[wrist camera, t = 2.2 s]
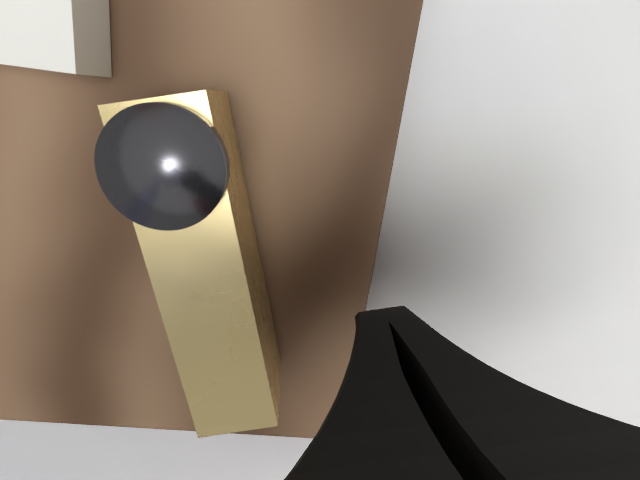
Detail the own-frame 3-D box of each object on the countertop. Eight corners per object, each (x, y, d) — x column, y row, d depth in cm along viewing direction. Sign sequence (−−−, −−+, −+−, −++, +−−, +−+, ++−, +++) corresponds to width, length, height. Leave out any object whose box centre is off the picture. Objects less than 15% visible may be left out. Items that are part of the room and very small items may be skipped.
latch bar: (138, 103, 12) (74, 107, 8) (234, 89, 12) (209, 88, 8) (211, 374, 15) (186, 455, 12) (287, 362, 15) (283, 441, 12)
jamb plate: (-117, 392, 16) (-143, 410, 15) (-292, -259, 10) (-355, -297, 9) (338, 421, 18) (341, 439, 17) (436, -119, 11) (449, -140, 10)
